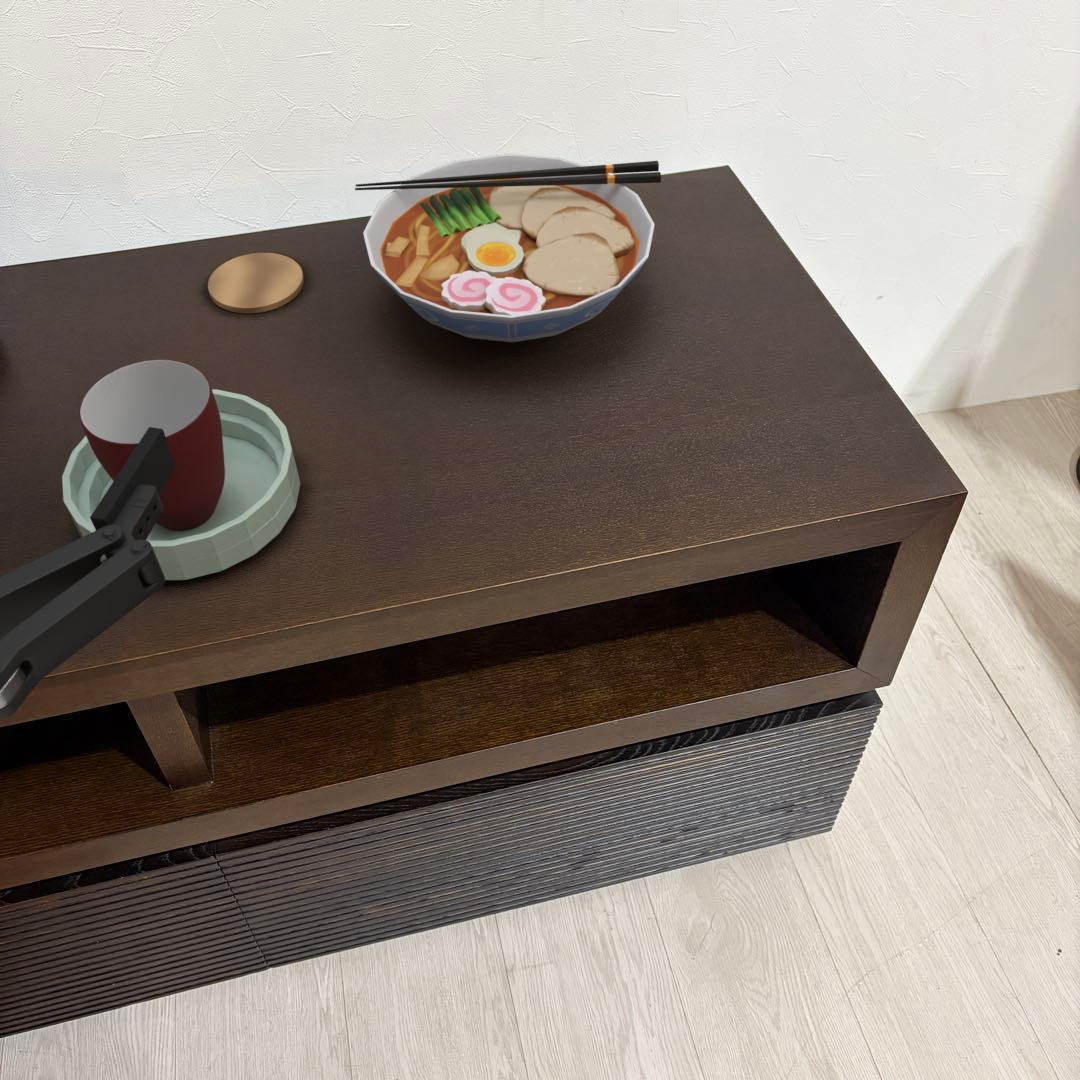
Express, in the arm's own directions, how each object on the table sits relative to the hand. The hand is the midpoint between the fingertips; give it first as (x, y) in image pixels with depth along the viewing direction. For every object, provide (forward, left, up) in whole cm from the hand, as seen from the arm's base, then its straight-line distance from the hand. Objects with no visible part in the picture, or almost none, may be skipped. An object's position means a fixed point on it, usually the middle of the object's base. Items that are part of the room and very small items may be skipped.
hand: (45, 429), depth 59 cm
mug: (-3, +9, -15) cm, 18 cm away
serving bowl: (-3, +9, -16) cm, 19 cm away
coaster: (-14, +32, -16) cm, 39 cm away
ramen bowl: (+7, +39, -16) cm, 43 cm away
